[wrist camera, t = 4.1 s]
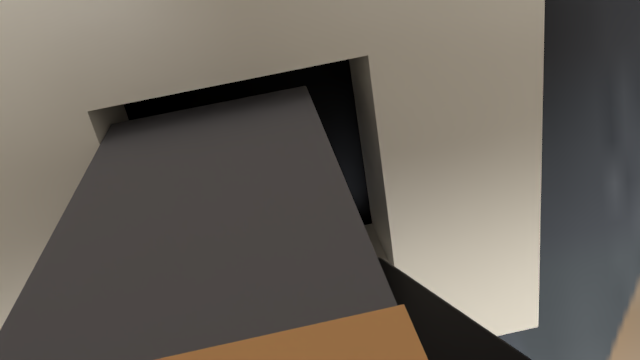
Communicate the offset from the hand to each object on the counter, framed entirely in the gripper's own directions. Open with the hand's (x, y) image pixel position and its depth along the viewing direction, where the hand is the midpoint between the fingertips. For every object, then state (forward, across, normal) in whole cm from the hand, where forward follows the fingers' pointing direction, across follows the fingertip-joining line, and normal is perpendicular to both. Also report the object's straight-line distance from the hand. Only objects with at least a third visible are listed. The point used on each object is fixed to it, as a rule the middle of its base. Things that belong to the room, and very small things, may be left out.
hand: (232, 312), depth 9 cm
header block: (+6, -1, 0) cm, 6 cm away
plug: (+4, 0, 0) cm, 4 cm away
